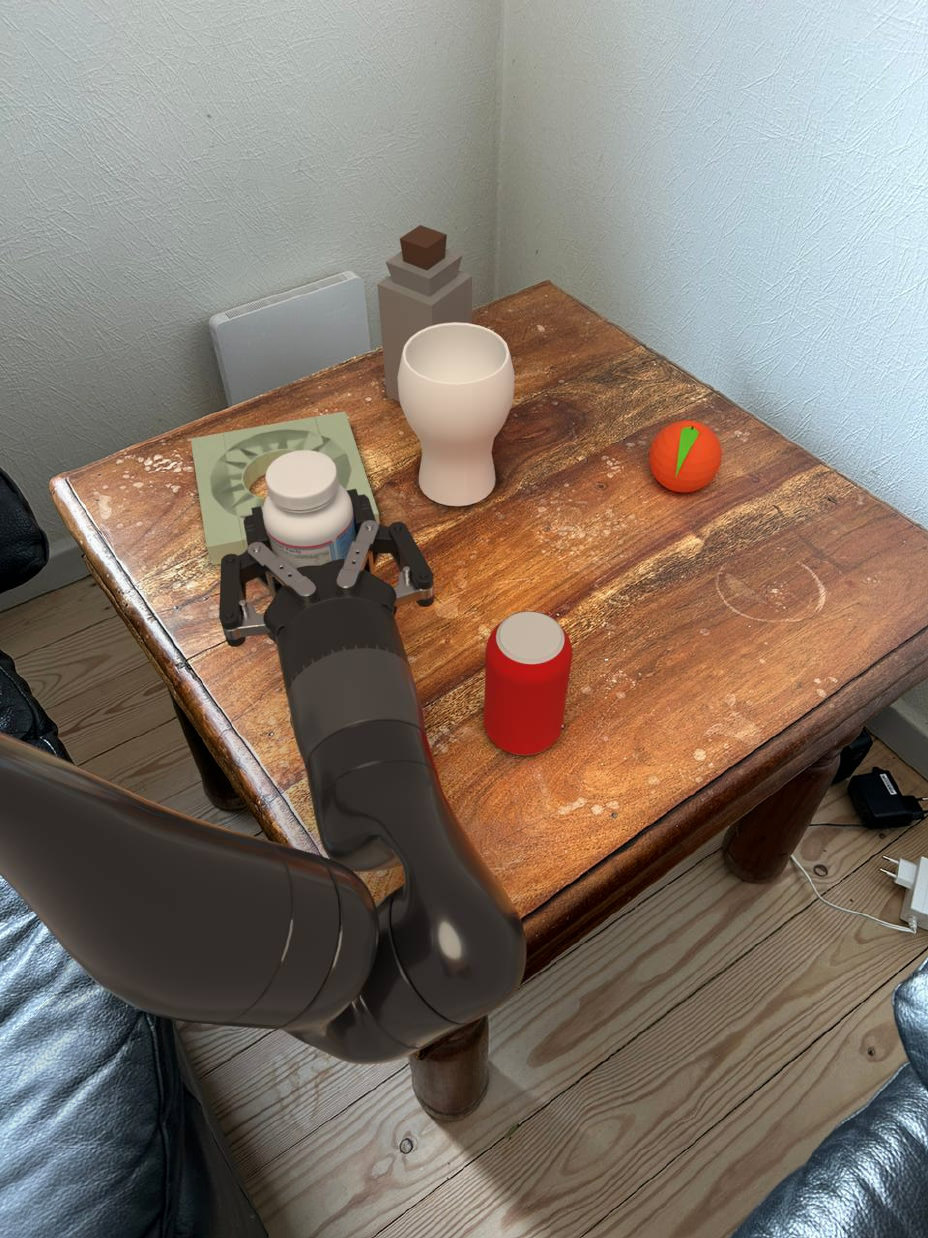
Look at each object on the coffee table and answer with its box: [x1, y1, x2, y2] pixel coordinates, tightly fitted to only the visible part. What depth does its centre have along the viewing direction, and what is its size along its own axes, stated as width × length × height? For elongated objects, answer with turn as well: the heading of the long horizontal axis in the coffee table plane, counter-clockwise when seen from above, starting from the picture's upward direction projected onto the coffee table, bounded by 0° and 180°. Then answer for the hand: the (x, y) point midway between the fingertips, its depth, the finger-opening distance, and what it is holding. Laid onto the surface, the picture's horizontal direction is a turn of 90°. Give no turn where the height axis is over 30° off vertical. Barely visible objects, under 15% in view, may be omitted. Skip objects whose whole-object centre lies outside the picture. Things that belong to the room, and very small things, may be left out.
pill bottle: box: [263, 450, 357, 570], centre depth 64 cm, size 6×6×11 cm
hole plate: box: [190, 410, 381, 566], centre depth 91 cm, size 16×16×2 cm
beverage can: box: [483, 610, 573, 756], centre depth 69 cm, size 6×6×12 cm
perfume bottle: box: [376, 224, 473, 403], centre depth 95 cm, size 7×7×18 cm
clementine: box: [648, 420, 723, 493], centre depth 89 cm, size 8×7×7 cm
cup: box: [397, 322, 516, 507], centre depth 87 cm, size 11×11×15 cm
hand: (305, 507), depth 65 cm, fingers closed on pill bottle, 6 cm apart
